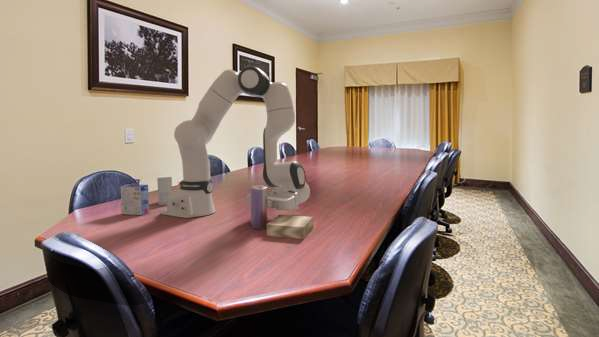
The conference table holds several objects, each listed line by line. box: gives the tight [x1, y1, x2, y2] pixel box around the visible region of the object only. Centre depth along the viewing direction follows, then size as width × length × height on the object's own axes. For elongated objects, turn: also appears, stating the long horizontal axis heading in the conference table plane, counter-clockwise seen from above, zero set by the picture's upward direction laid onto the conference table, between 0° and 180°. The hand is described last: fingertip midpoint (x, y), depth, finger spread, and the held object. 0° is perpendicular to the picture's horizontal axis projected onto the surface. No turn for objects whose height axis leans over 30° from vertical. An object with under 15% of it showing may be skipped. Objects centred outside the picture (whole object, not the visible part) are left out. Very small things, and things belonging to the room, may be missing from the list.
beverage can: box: [250, 184, 269, 230], centre depth 131 cm, size 6×6×15 cm
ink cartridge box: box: [120, 178, 150, 216], centre depth 153 cm, size 10×6×14 cm, turn 79°
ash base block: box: [266, 214, 314, 240], centre depth 127 cm, size 13×13×4 cm
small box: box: [156, 174, 173, 206], centre depth 172 cm, size 8×6×13 cm
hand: (256, 204), depth 131 cm, fingers closed on beverage can, 3 cm apart
